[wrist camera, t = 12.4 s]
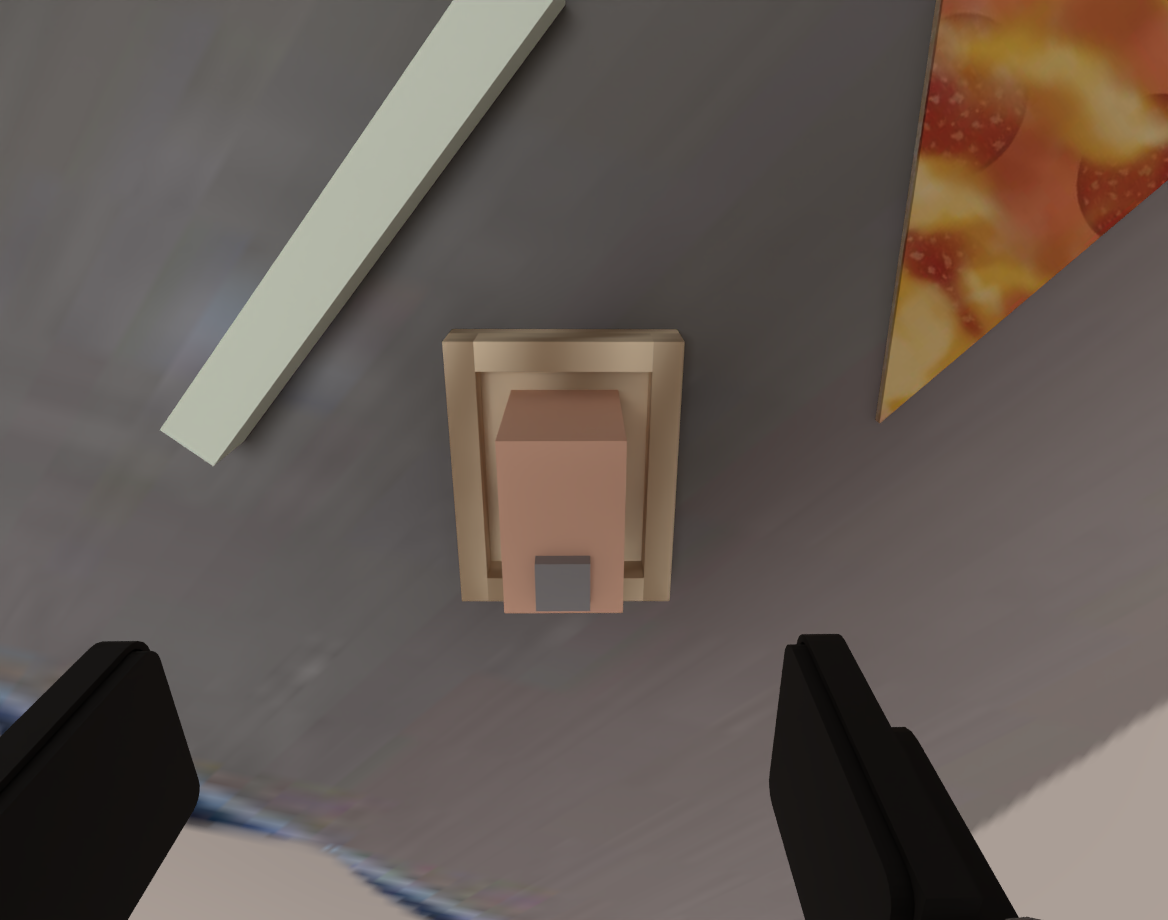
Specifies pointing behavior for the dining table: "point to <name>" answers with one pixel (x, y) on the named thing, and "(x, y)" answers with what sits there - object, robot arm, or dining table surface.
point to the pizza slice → (1019, 163)
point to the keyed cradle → (566, 362)
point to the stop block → (562, 501)
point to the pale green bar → (358, 215)
